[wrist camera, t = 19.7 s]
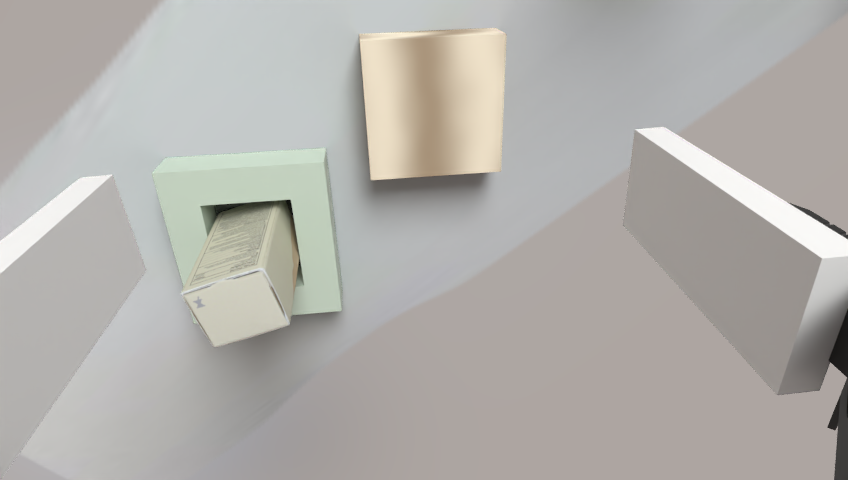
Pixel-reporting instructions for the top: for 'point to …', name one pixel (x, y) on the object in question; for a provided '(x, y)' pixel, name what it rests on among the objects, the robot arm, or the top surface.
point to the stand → (434, 101)
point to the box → (245, 273)
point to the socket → (255, 182)
